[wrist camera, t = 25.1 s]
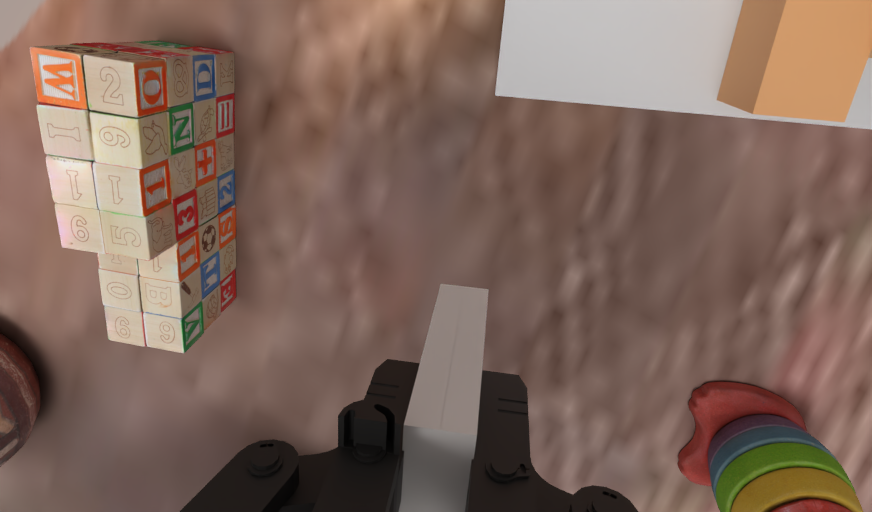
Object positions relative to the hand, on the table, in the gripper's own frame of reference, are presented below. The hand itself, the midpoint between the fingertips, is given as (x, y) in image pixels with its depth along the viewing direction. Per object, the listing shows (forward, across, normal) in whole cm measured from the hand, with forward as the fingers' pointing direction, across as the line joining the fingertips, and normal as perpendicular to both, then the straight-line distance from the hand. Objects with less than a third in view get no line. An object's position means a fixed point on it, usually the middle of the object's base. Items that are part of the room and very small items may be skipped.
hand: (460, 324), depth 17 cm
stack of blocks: (+27, +24, +5) cm, 36 cm away
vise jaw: (+25, -17, -11) cm, 32 cm away
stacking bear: (+27, -25, +23) cm, 43 cm away
